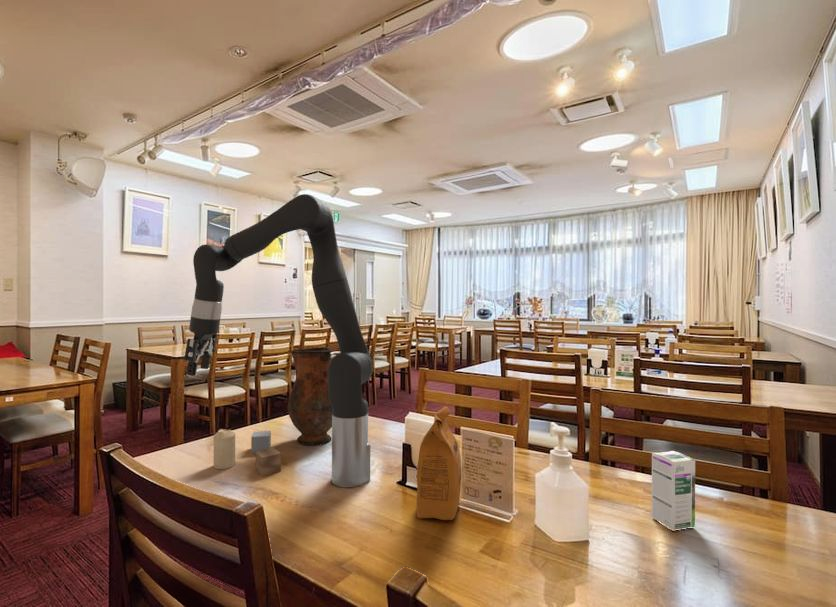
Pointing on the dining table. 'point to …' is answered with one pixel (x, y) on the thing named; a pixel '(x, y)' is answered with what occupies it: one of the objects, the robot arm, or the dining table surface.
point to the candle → (224, 449)
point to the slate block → (260, 441)
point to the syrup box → (673, 489)
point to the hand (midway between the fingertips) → (198, 371)
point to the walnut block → (268, 461)
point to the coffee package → (438, 471)
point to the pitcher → (311, 396)
